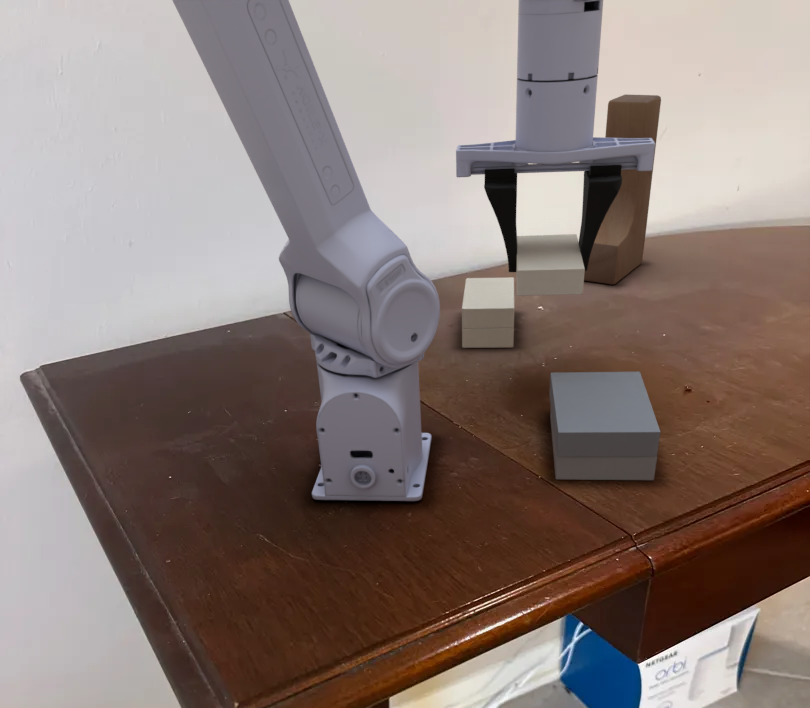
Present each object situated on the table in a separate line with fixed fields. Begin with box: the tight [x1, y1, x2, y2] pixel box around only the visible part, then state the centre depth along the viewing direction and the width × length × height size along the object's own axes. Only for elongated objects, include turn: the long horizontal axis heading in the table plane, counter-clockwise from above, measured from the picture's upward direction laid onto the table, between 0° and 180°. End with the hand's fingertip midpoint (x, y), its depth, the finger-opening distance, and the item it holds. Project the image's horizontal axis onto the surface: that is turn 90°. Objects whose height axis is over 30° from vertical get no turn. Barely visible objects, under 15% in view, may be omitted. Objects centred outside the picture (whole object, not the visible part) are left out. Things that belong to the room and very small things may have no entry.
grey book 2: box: [549, 411, 658, 481], centre depth 62 cm, size 10×7×2 cm
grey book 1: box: [548, 371, 661, 458], centre depth 61 cm, size 10×7×2 cm
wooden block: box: [584, 94, 662, 285], centre depth 91 cm, size 9×4×18 cm, turn 146°
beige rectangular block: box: [515, 233, 585, 297], centre depth 65 cm, size 9×5×2 cm, turn 174°
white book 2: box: [461, 327, 515, 349], centre depth 83 cm, size 9×5×2 cm, turn 174°
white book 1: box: [461, 276, 515, 329], centre depth 82 cm, size 9×5×2 cm, turn 174°
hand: (547, 267), depth 66 cm, fingers closed on beige rectangular block, 5 cm apart
